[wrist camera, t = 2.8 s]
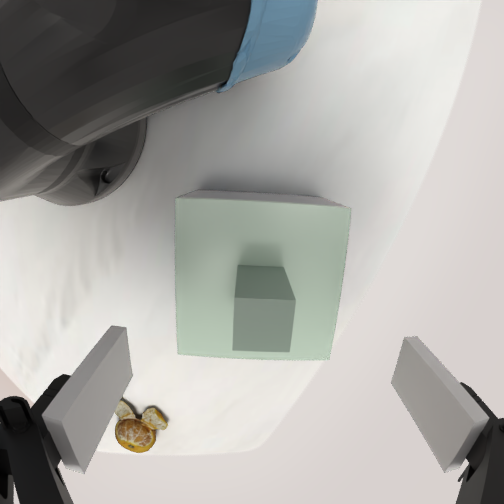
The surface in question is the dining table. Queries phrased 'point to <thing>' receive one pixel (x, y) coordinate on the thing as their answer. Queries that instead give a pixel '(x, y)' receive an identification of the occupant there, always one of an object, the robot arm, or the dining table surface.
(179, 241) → the lid
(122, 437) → the fruit
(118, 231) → the dining table surface
